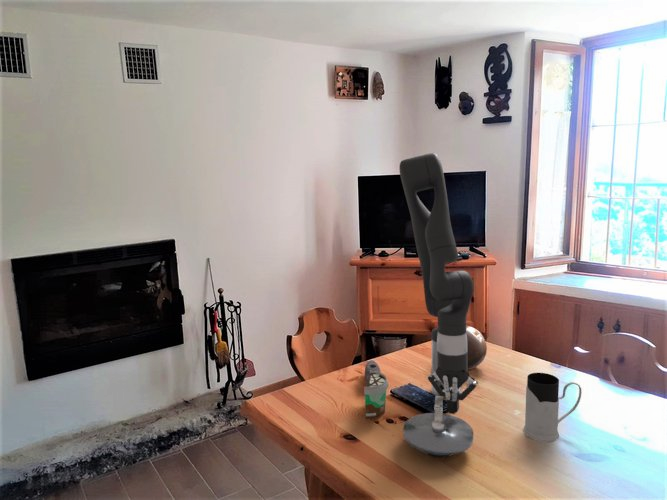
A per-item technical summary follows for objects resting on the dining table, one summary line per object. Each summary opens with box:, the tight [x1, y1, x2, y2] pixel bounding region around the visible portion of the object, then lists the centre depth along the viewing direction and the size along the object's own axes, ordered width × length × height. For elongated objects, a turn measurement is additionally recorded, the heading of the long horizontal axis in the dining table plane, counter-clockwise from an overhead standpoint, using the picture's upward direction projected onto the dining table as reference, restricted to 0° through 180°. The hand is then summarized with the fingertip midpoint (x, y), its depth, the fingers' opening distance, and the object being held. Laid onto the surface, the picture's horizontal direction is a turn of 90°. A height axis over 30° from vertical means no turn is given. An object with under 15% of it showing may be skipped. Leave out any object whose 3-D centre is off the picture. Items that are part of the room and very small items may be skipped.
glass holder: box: [522, 372, 582, 443], centre depth 127 cm, size 9×14×15 cm, turn 88°
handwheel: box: [402, 395, 474, 456], centre depth 121 cm, size 17×17×7 cm
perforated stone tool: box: [364, 359, 382, 385], centre depth 161 cm, size 15×5×7 cm, turn 178°
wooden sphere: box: [466, 325, 487, 370], centre depth 170 cm, size 15×15×15 cm
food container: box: [363, 371, 390, 420], centre depth 141 cm, size 12×6×10 cm, turn 168°
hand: (452, 412), depth 127 cm, fingers closed
